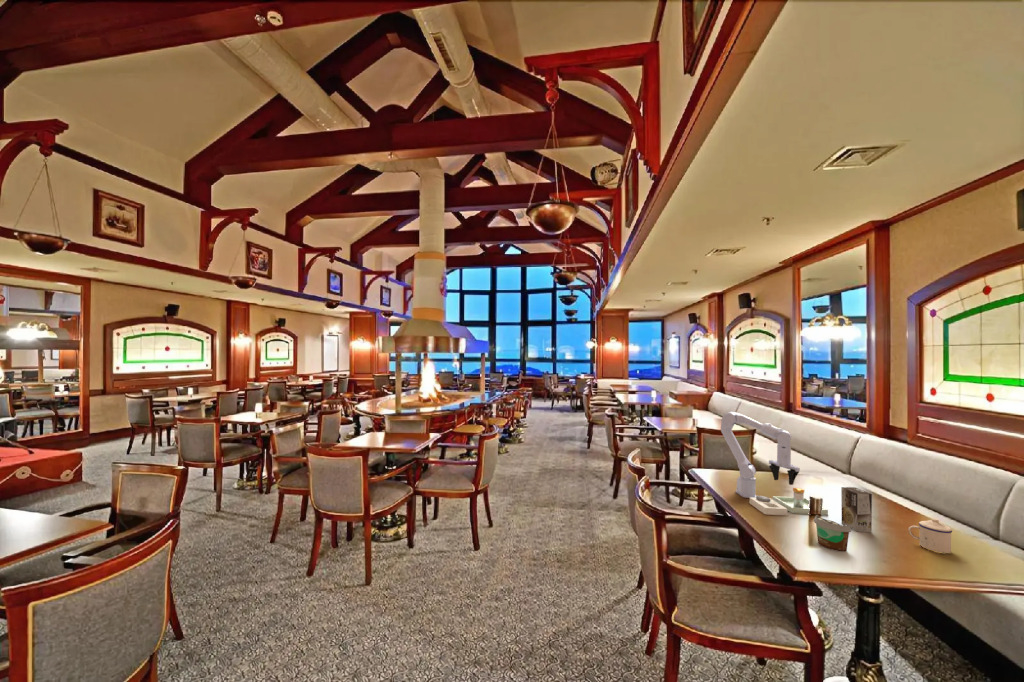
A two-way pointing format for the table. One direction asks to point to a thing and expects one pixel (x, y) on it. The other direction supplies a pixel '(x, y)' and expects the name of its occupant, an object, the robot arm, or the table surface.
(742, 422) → the robot arm
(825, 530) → the food container
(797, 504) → the jar
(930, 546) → the teacup with lid
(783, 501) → the tray
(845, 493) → the coffee box
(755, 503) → the plate
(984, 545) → the table surface
